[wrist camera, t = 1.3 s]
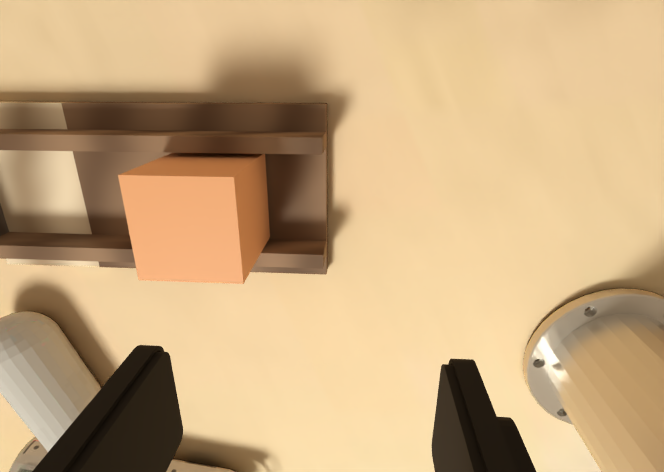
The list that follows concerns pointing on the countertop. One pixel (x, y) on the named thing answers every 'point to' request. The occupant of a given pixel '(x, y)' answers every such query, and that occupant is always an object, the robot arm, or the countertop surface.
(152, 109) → the chute
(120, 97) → the countertop surface
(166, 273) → the block
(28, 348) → the gun
